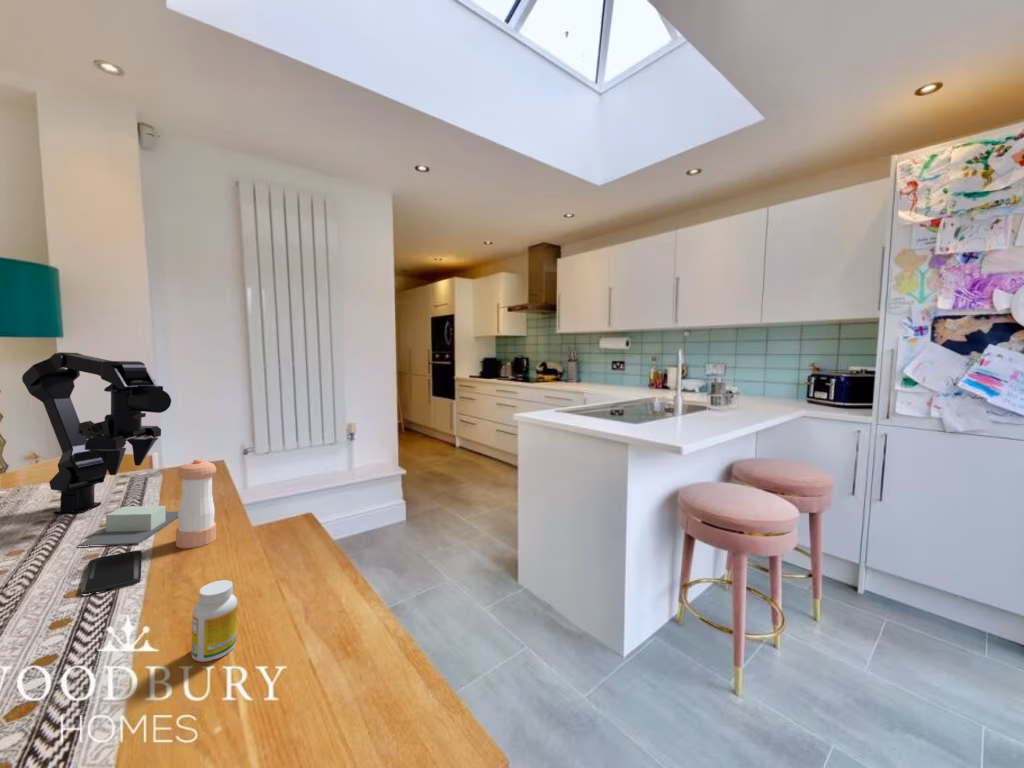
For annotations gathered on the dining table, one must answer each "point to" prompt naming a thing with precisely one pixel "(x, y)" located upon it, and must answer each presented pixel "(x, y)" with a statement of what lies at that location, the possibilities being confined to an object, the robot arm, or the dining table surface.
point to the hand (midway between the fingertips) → (126, 470)
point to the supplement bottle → (214, 621)
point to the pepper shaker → (196, 505)
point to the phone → (112, 572)
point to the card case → (135, 518)
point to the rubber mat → (127, 534)
